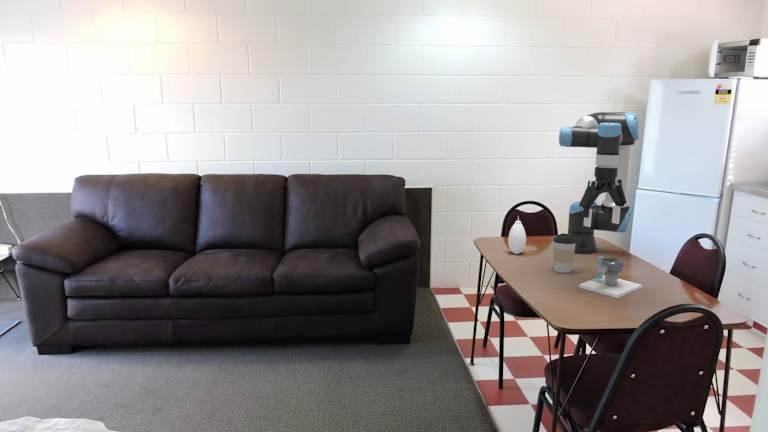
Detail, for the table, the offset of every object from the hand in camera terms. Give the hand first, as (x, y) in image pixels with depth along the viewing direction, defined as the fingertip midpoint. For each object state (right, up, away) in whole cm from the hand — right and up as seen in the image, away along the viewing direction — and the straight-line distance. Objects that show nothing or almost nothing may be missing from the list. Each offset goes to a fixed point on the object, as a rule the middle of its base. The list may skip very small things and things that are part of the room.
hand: (601, 224), depth 193 cm
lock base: (+6, -24, +7) cm, 25 cm away
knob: (+5, -17, +4) cm, 18 cm away
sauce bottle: (-18, -14, +53) cm, 57 cm away
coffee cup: (-5, -20, +28) cm, 34 cm away
